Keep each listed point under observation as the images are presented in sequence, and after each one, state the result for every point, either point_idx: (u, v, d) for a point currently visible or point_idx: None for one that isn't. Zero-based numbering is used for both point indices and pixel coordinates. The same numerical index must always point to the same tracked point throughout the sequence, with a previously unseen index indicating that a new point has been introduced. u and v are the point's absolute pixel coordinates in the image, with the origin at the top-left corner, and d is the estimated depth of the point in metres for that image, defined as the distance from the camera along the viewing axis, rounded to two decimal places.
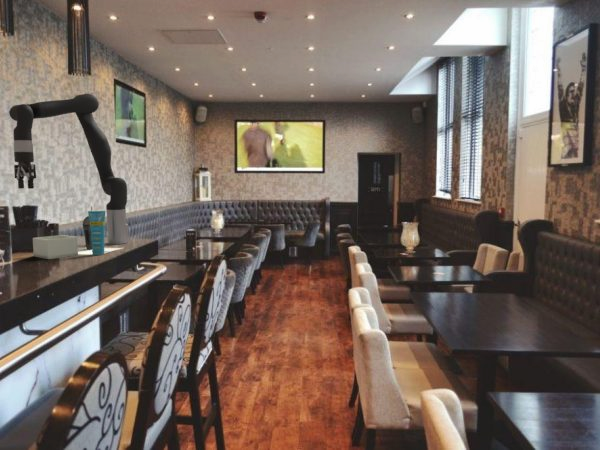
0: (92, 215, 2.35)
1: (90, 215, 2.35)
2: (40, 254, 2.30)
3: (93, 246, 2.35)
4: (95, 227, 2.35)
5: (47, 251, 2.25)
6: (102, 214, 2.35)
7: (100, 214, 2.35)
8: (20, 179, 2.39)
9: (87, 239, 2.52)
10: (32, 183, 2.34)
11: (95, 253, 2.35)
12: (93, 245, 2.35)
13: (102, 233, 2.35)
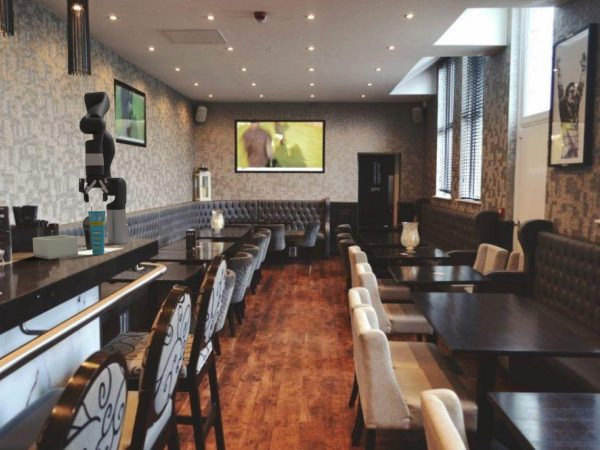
0: (92, 215, 2.35)
1: (90, 215, 2.35)
2: (40, 254, 2.30)
3: (93, 246, 2.35)
4: (95, 227, 2.35)
5: (47, 251, 2.25)
6: (102, 214, 2.35)
7: (100, 214, 2.35)
8: None
9: (87, 239, 2.52)
10: None
11: (95, 253, 2.35)
12: (93, 245, 2.35)
13: (102, 233, 2.35)
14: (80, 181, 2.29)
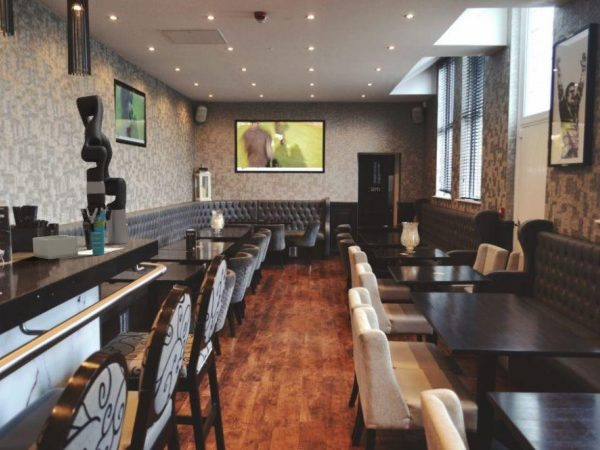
0: None
1: None
2: (40, 254, 2.30)
3: (94, 246, 2.35)
4: (95, 227, 2.35)
5: (47, 251, 2.25)
6: (102, 214, 2.35)
7: (100, 214, 2.35)
8: None
9: (87, 239, 2.52)
10: None
11: (95, 253, 2.35)
12: (93, 245, 2.35)
13: (102, 233, 2.35)
14: (83, 212, 2.30)
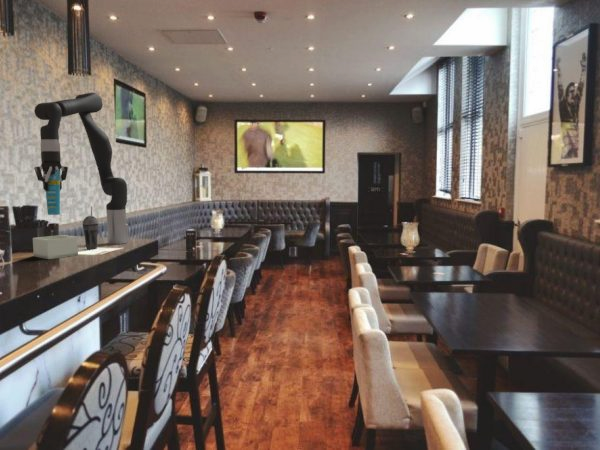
0: None
1: None
2: (40, 254, 2.30)
3: (48, 206, 2.30)
4: (50, 186, 2.30)
5: (47, 251, 2.25)
6: (57, 173, 2.31)
7: (55, 173, 2.31)
8: None
9: (87, 239, 2.52)
10: (60, 185, 2.35)
11: (50, 213, 2.31)
12: (48, 205, 2.31)
13: (57, 192, 2.31)
14: (36, 170, 2.26)
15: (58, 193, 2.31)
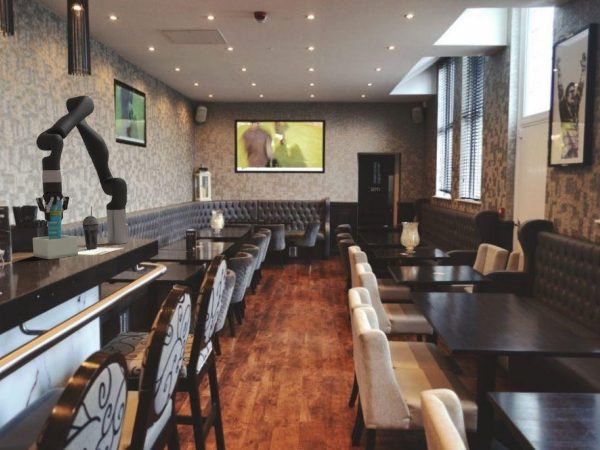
0: None
1: None
2: (40, 254, 2.30)
3: (50, 236, 2.32)
4: (51, 216, 2.31)
5: (47, 251, 2.25)
6: (58, 203, 2.32)
7: (56, 203, 2.32)
8: None
9: (87, 239, 2.52)
10: None
11: None
12: (49, 235, 2.32)
13: (58, 223, 2.32)
14: (38, 201, 2.27)
15: (59, 223, 2.33)
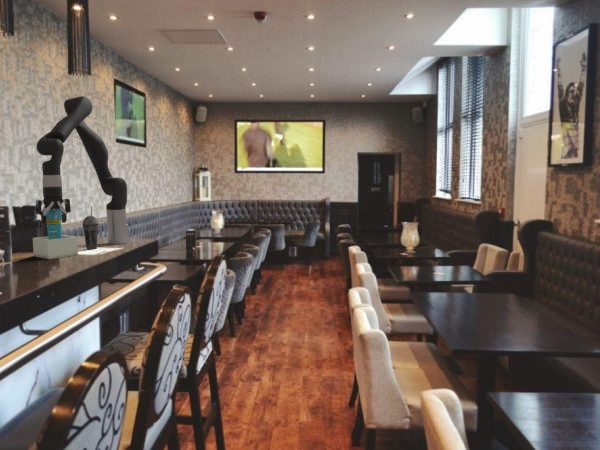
0: (48, 213, 2.33)
1: (46, 213, 2.33)
2: (40, 254, 2.30)
3: None
4: (51, 225, 2.32)
5: (47, 251, 2.25)
6: (58, 212, 2.32)
7: (56, 212, 2.33)
8: None
9: (87, 239, 2.52)
10: None
11: None
12: None
13: (59, 231, 2.33)
14: (37, 203, 2.27)
15: (60, 232, 2.33)
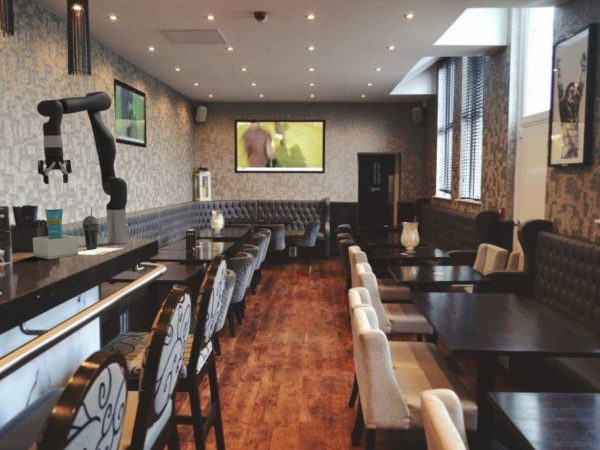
0: (49, 213, 2.33)
1: (47, 213, 2.33)
2: (40, 254, 2.30)
3: None
4: (52, 225, 2.32)
5: (47, 251, 2.25)
6: (59, 212, 2.33)
7: (57, 212, 2.33)
8: None
9: (87, 239, 2.52)
10: None
11: None
12: None
13: (59, 231, 2.33)
14: (39, 163, 2.32)
15: (60, 232, 2.33)
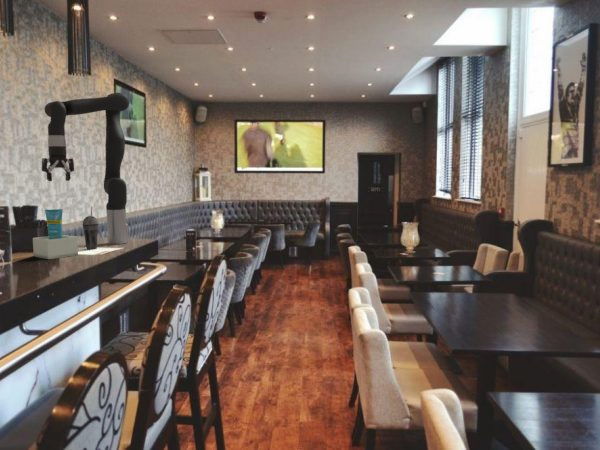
0: (49, 213, 2.33)
1: (47, 213, 2.33)
2: (40, 254, 2.30)
3: None
4: (52, 225, 2.32)
5: (47, 251, 2.25)
6: (59, 212, 2.33)
7: (57, 212, 2.33)
8: None
9: (87, 239, 2.52)
10: None
11: None
12: None
13: (59, 232, 2.33)
14: (43, 161, 2.45)
15: (60, 232, 2.33)
